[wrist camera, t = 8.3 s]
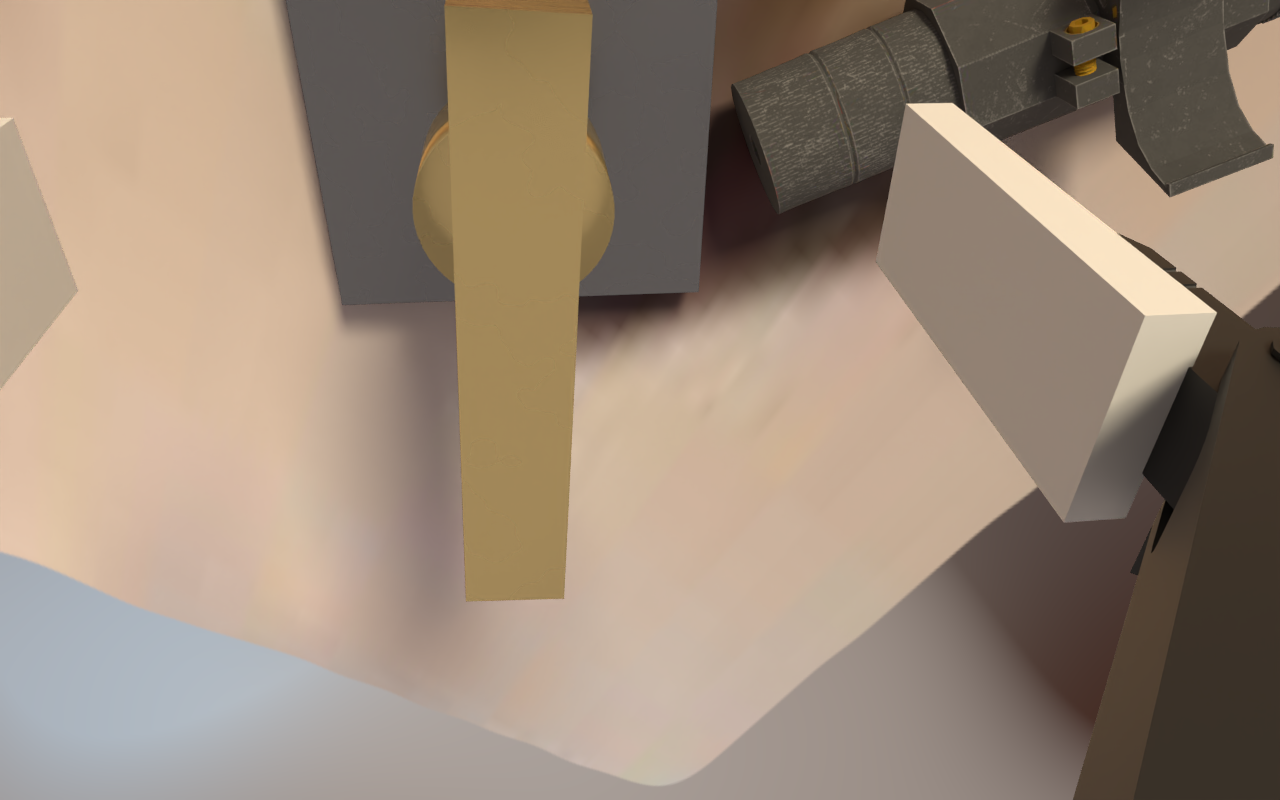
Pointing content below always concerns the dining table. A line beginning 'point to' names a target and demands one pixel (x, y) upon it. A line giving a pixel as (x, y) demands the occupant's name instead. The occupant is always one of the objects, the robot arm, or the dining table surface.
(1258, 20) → the laser sight
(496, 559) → the lever handle
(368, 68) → the post base
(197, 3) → the dining table surface
